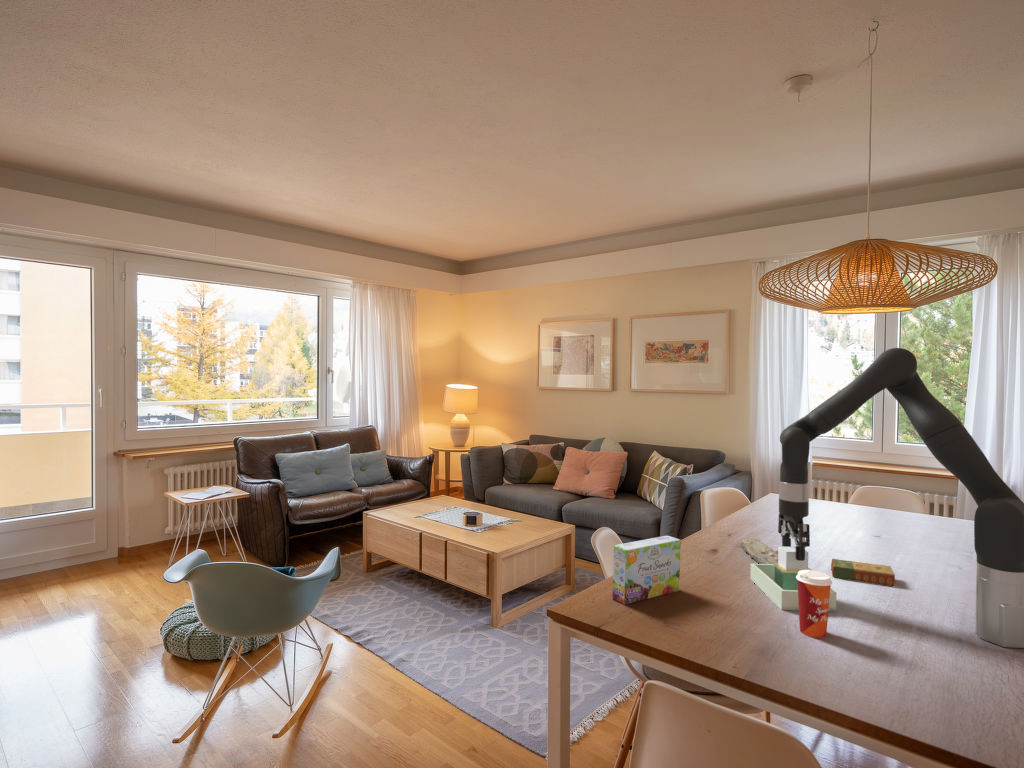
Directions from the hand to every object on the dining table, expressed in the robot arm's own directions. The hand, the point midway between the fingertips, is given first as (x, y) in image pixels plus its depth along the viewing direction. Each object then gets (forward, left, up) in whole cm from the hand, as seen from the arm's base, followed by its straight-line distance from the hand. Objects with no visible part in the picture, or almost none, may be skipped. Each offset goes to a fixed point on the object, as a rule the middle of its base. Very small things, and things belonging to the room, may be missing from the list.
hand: (793, 555), depth 158 cm
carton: (+16, -28, -12) cm, 34 cm away
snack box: (-3, +41, -12) cm, 43 cm away
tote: (0, +1, -11) cm, 11 cm away
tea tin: (0, 0, -10) cm, 10 cm away
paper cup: (-24, +6, -11) cm, 27 cm away
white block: (0, 0, -3) cm, 3 cm away
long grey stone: (+31, -5, -12) cm, 34 cm away
